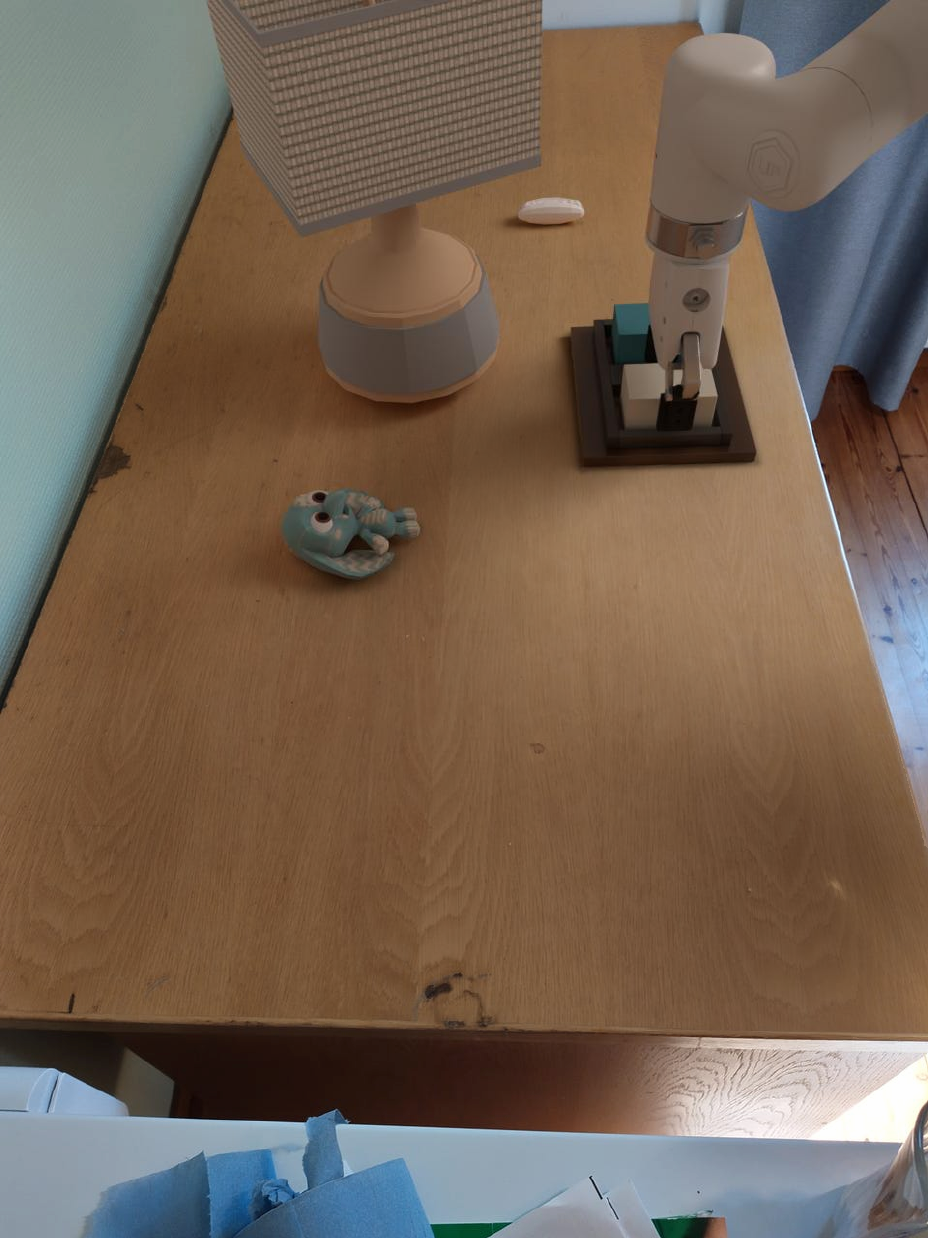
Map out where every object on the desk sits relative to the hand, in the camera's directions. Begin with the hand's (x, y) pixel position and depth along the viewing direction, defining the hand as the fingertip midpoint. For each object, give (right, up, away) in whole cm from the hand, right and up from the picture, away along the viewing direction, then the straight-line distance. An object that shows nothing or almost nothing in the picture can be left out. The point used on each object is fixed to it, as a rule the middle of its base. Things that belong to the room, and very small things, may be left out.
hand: (666, 393), depth 84 cm
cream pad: (0, -2, +2) cm, 3 cm away
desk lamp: (-25, +6, +12) cm, 28 cm away
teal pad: (0, +6, +8) cm, 10 cm away
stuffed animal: (-29, -15, -4) cm, 33 cm away
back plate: (0, +2, +6) cm, 6 cm away
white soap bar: (-8, +28, +26) cm, 39 cm away
